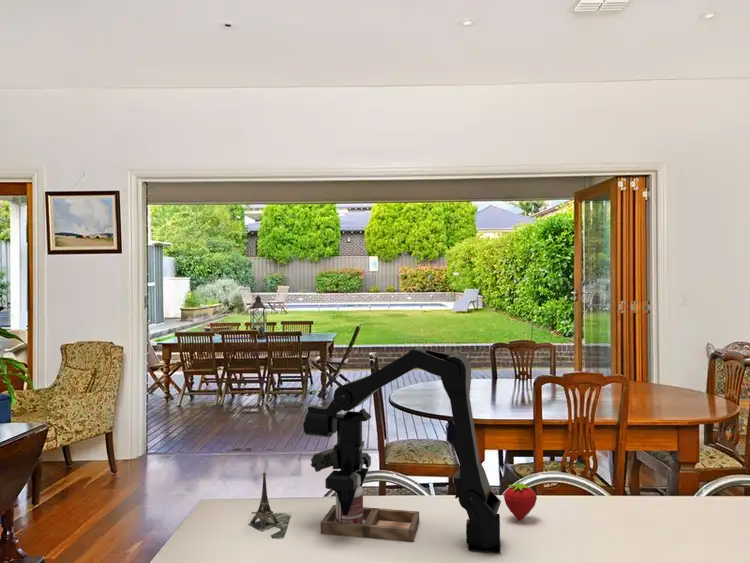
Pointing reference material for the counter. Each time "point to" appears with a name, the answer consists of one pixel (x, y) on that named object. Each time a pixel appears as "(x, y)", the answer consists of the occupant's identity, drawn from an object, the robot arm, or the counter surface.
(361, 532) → the caddy
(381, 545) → the counter surface
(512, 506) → the strawberry
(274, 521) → the eiffel tower figurine
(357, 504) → the pill bottle
